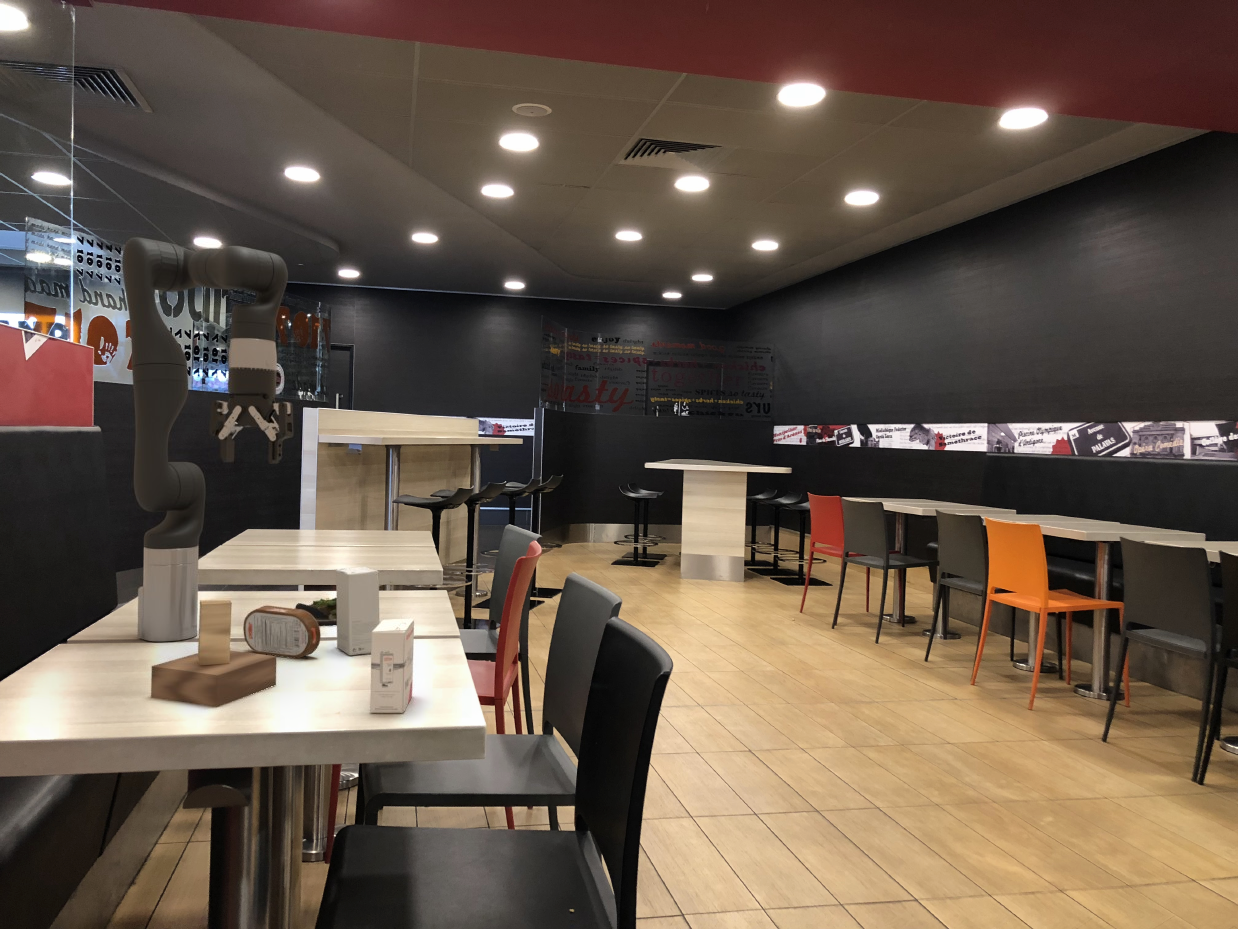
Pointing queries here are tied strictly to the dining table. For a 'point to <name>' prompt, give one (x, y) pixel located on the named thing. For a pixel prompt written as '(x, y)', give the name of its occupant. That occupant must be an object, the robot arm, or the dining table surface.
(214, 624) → the oak post
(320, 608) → the salad plate
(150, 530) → the robot arm
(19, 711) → the dining table surface
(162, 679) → the walnut slab
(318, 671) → the dining table surface
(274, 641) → the tin
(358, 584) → the skincare box
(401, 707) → the ink box
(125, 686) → the dining table surface
